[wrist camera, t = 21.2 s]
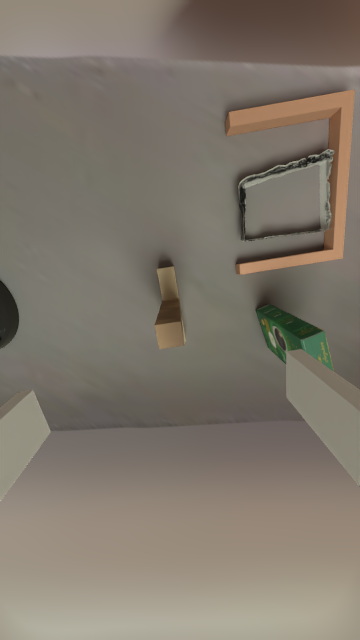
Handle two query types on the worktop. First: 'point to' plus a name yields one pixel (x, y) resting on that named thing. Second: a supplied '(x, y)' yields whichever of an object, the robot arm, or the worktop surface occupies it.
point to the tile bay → (339, 141)
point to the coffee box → (292, 335)
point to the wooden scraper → (169, 311)
